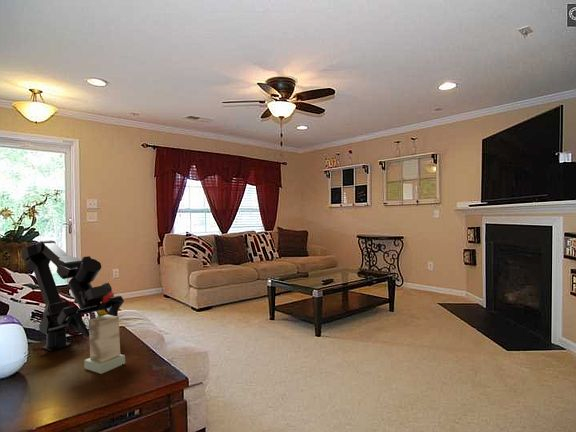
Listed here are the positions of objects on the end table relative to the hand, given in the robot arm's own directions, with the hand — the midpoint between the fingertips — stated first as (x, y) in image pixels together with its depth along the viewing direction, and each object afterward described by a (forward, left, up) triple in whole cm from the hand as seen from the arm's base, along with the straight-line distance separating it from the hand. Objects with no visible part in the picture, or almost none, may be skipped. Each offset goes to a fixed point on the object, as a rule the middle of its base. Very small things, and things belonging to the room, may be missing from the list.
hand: (103, 331), depth 110 cm
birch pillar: (+1, 0, -8) cm, 8 cm away
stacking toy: (-19, +14, -11) cm, 26 cm away
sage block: (+1, 0, -11) cm, 11 cm away
